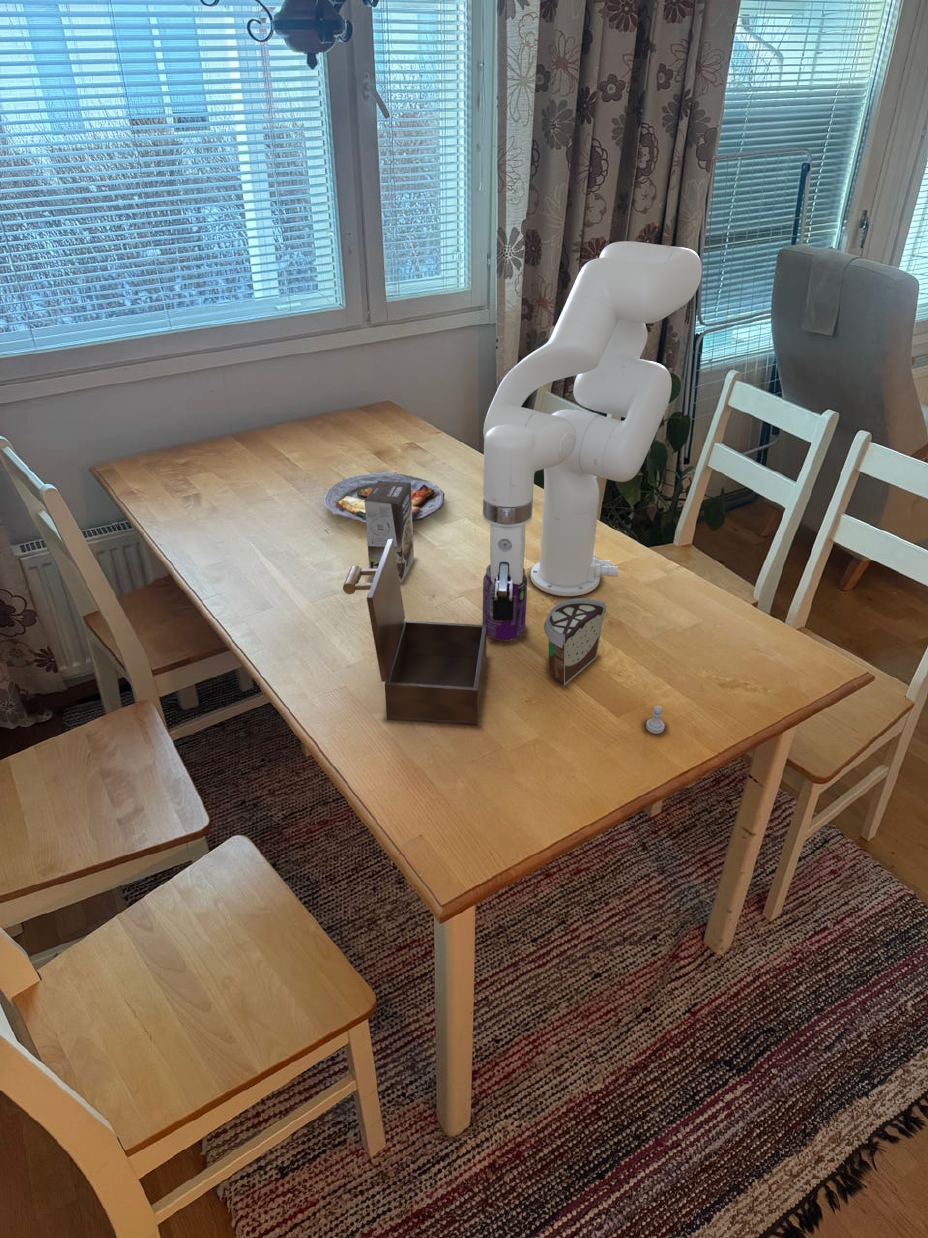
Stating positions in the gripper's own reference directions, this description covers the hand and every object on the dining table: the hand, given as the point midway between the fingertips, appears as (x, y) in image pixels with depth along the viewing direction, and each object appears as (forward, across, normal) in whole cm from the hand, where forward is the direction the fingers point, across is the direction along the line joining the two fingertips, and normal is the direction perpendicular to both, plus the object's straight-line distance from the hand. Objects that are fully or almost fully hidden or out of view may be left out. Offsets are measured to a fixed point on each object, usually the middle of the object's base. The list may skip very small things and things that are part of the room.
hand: (504, 605), depth 139 cm
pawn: (+6, -22, -23) cm, 32 cm away
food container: (+6, -8, -10) cm, 14 cm away
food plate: (+5, +44, +28) cm, 53 cm away
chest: (+5, -16, +9) cm, 19 cm away
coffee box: (+6, +18, +22) cm, 29 cm away
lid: (-9, -16, +16) cm, 24 cm away
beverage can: (+6, 0, 0) cm, 6 cm away
